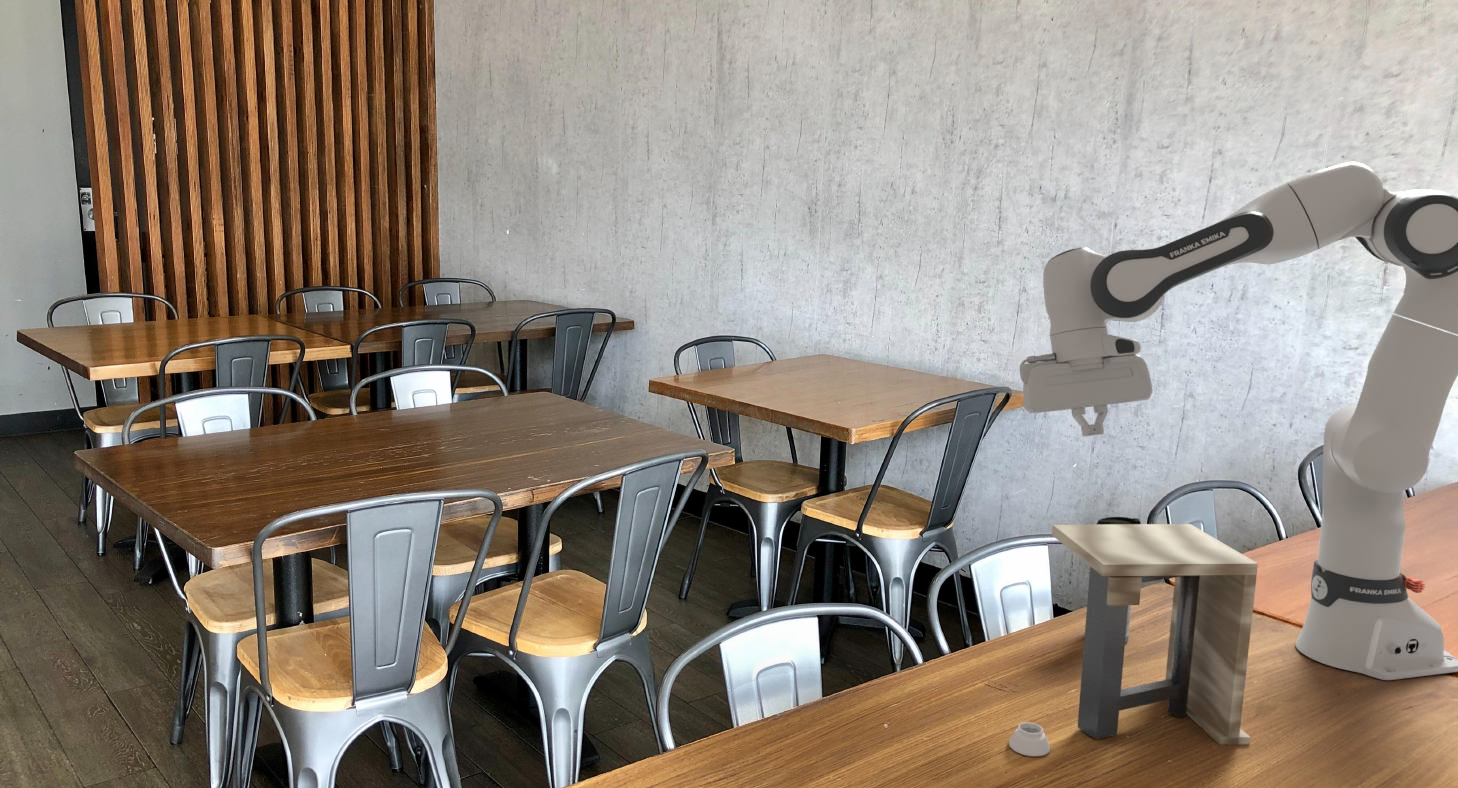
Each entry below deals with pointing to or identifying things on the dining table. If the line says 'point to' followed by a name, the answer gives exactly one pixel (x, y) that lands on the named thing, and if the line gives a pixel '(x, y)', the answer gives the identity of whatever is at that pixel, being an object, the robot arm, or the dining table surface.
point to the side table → (1218, 606)
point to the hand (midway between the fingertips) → (1093, 435)
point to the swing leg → (1107, 655)
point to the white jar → (1029, 740)
